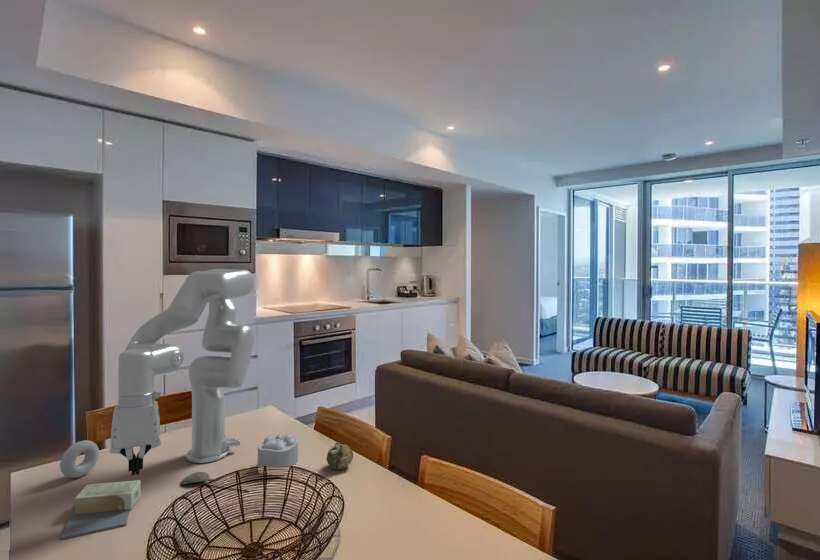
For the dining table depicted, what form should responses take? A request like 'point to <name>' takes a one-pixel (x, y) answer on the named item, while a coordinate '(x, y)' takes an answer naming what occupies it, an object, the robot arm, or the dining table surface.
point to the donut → (73, 452)
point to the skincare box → (108, 497)
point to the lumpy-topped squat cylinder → (278, 451)
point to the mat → (93, 522)
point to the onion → (339, 456)
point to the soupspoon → (196, 478)
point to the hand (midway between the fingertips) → (135, 472)
